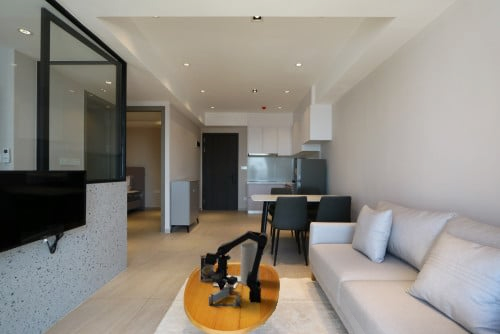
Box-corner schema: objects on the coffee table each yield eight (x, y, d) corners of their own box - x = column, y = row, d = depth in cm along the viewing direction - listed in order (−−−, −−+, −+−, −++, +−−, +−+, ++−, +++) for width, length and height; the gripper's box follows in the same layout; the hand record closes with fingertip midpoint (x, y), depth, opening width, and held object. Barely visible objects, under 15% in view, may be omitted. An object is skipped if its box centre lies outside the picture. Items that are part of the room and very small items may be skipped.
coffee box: (200, 282, 187) (200, 258, 187) (199, 278, 193) (199, 255, 193) (213, 280, 190) (214, 257, 190) (212, 277, 196) (212, 254, 196)
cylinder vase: (259, 279, 193) (259, 243, 193) (258, 286, 181) (258, 248, 181) (241, 278, 194) (242, 242, 195) (239, 285, 182) (239, 247, 182)
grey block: (214, 302, 157) (214, 294, 157) (212, 301, 158) (212, 293, 158) (228, 295, 167) (228, 287, 167) (226, 294, 168) (226, 286, 168)
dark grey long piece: (208, 307, 154) (208, 297, 154) (209, 303, 157) (209, 294, 157) (240, 307, 153) (240, 297, 154) (240, 304, 157) (240, 294, 157)
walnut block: (233, 291, 174) (233, 284, 174) (232, 294, 170) (233, 287, 170) (226, 291, 174) (226, 283, 174) (225, 294, 170) (225, 286, 170)
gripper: (201, 266, 163) (200, 293, 163) (228, 273, 154) (227, 301, 154) (212, 261, 173) (211, 286, 173) (238, 267, 164) (237, 293, 164)
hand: (221, 291), depth 166 cm, fingers closed
